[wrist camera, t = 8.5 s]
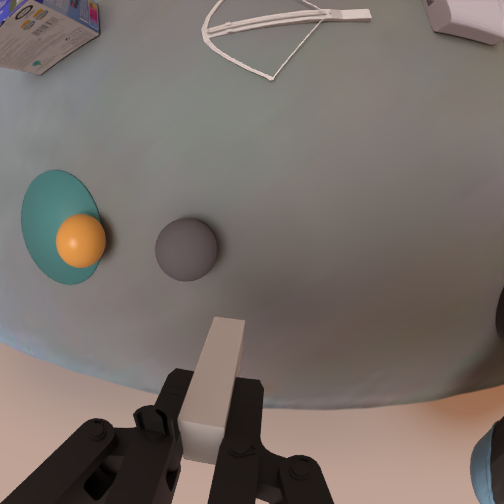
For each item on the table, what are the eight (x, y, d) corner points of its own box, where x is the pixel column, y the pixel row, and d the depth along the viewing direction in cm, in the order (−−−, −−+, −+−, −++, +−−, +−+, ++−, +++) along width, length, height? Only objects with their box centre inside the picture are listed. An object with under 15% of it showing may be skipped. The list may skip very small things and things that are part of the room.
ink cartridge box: (98, 1, 20) (20, -45, 6) (103, 33, 21) (13, -9, 8) (38, 43, 21) (-44, 25, 8) (40, 76, 23) (-51, 65, 9)
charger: (518, 56, 17) (432, 33, 19) (496, -3, 14) (406, -30, 16) (540, 51, 13) (453, 19, 15) (514, -12, 10) (421, -49, 12)
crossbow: (217, 95, 25) (211, 91, 23) (198, -5, 21) (192, -14, 19) (383, 74, 22) (389, 68, 20) (350, -26, 18) (352, -36, 16)
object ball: (51, 256, 22) (42, 241, 25) (92, 285, 26) (78, 267, 29) (85, 207, 23) (71, 199, 27) (123, 240, 27) (104, 228, 31)
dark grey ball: (136, 256, 22) (148, 237, 27) (181, 304, 24) (185, 277, 29) (187, 212, 22) (191, 201, 27) (232, 264, 24) (228, 244, 29)
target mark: (125, 236, 29) (124, 237, 28) (68, 303, 32) (67, 304, 32) (55, 145, 26) (53, 145, 26) (10, 224, 30) (9, 224, 29)
